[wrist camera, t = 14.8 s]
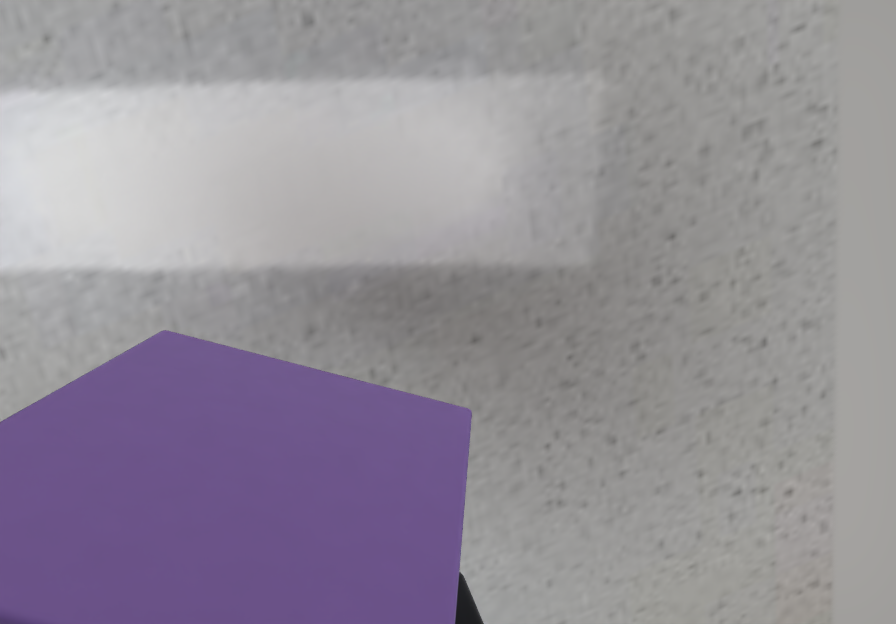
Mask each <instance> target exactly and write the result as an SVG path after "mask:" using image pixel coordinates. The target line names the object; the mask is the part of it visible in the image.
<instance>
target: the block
mask: <svg viewBox="0 0 896 624" xmlns="http://www.w3.org/2000/svg"><path fill="white" fill-rule="evenodd" d="M471 418H472V412H471V410H470V409H468V408H464V407H460V406H456V405H453V404H449V403H445V402H441V401H437V400H433V399H429V398H426V397H422V396H418V395H414V394H410V393H406V392H402V391H399V390H395V389H391V388H387V387H383V386H379V385H375V384H371V383H368V382H364V381H360V380H356V379H352V378H348V377H344V376H341V375H337V374H333V373H329V372H325V371H321V370H317V369H314V368H310V367H306V366H302V365H298V364H294V363H290V362H287V361H283V360H279V359H275V358H271V357H267V356H263V355H259V354H256V353H252V352H248V351H244V350H240V349H236V348H232V347H229V346H225V345H221V344H217V343H213V342H209V341H205V340H202V339H198V338H194V337H190V336H186V335H182V334H178V333H174V332H171V331H166V330H165V331H161V332H159V333H157V334H156V335H154V336H152V337H150V338H148V339H147V340H145V341H143V342H141V343H140V344H138V345H136V346H134V347H133V348H131V349H129V350H127V351H125V352H124V353H122V354H120V355H118V356H117V357H115V358H113V359H111V360H109V361H108V362H106V363H104V364H102V365H101V366H99V367H97V368H95V369H93V370H92V371H90V372H88V373H86V374H85V375H83V376H81V377H79V378H78V379H76V380H74V381H72V382H70V383H69V384H67V385H65V386H63V387H62V388H60V389H58V390H56V391H54V392H53V393H51V394H49V395H47V396H46V397H44V398H42V399H40V400H38V401H37V402H35V403H33V404H31V405H30V406H28V407H26V408H24V409H23V410H21V411H19V412H17V413H15V414H14V415H12V416H10V417H8V418H7V419H5V420H3V421H1V422H0V624H455V618H456V606H457V593H458V581H459V568H460V555H461V543H462V530H463V518H464V505H465V493H466V480H467V468H468V455H469V443H470V430H471Z"/></svg>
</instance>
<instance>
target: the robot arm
mask: <svg viewBox="0 0 896 624" xmlns="http://www.w3.org/2000/svg"><path fill="white" fill-rule="evenodd" d="M455 624H484V623H483V621H482V619H481V616H480V614H479V612H478V609H477V607H476V604H475V602H474V600H473V597H472V595H471V593H470V590H469V588H468V585H467V583H466V581H465V578H464V576H463V575H462V574H461V573H460V572H459V581H458V593H457V606H456V618H455Z"/></svg>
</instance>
